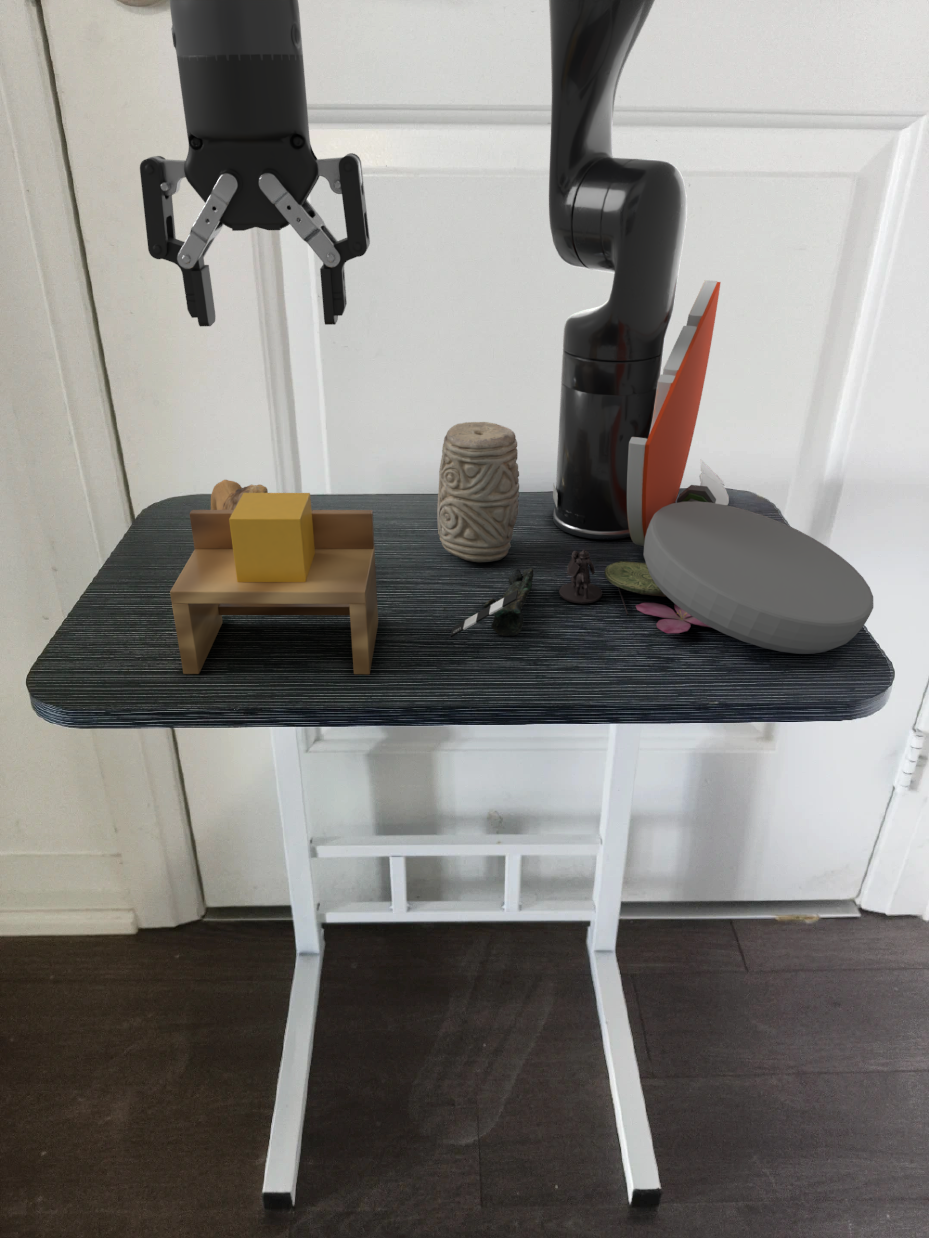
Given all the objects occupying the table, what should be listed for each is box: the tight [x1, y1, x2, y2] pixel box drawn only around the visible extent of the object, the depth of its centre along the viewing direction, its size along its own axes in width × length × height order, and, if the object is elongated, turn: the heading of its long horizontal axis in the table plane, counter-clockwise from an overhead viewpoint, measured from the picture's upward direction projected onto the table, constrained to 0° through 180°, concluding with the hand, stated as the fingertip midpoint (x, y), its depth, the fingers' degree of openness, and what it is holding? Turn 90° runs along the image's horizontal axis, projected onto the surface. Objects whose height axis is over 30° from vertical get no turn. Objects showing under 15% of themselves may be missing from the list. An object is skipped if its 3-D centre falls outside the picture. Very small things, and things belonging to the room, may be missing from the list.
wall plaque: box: [627, 279, 721, 547], centre depth 91 cm, size 19×2×30 cm
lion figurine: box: [210, 479, 269, 510], centre depth 88 cm, size 15×5×9 cm, turn 34°
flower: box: [635, 602, 713, 634], centre depth 79 cm, size 8×8×1 cm
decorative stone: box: [643, 501, 874, 655], centre depth 78 cm, size 18×18×5 cm
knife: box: [676, 459, 730, 506], centre depth 98 cm, size 22×4×5 cm
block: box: [229, 492, 315, 582], centre depth 71 cm, size 5×5×5 cm
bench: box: [169, 509, 379, 675], centre depth 73 cm, size 14×8×10 cm, turn 90°
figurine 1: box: [450, 567, 535, 638], centre depth 79 cm, size 6×4×12 cm
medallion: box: [604, 560, 668, 598], centre depth 84 cm, size 8×8×1 cm
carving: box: [436, 421, 520, 563], centre depth 88 cm, size 6×8×12 cm
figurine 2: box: [558, 548, 629, 616], centre depth 83 cm, size 5×8×4 cm
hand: (269, 323), depth 66 cm, fingers open, 8 cm apart
